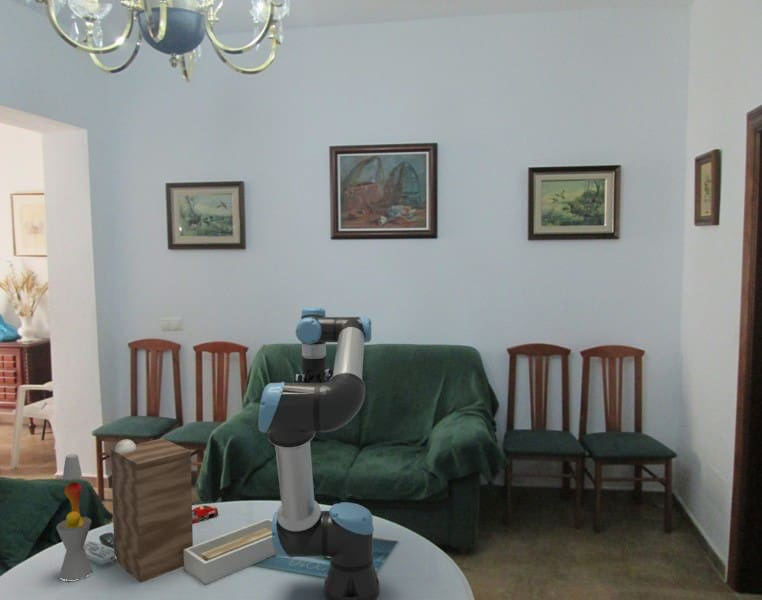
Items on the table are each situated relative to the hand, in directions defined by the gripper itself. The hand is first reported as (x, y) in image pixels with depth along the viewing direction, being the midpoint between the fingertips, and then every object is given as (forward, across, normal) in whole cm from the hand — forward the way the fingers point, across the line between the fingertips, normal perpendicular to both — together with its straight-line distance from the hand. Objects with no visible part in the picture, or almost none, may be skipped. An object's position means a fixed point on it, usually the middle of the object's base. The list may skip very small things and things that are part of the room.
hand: (314, 423), depth 192 cm
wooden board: (+38, +23, -8) cm, 45 cm away
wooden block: (+39, +42, -25) cm, 62 cm away
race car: (+39, +17, -42) cm, 60 cm away
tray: (+39, +23, -8) cm, 46 cm away
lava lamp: (+39, +61, -34) cm, 80 cm away
